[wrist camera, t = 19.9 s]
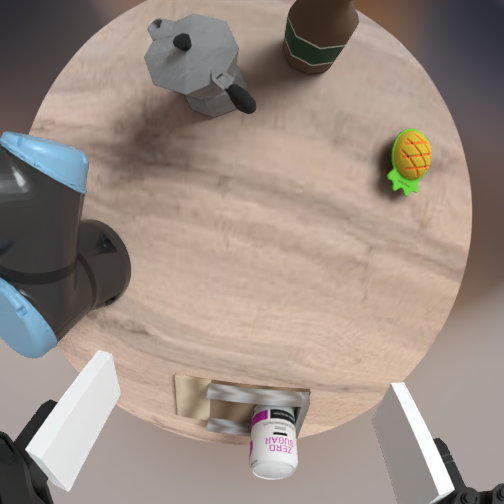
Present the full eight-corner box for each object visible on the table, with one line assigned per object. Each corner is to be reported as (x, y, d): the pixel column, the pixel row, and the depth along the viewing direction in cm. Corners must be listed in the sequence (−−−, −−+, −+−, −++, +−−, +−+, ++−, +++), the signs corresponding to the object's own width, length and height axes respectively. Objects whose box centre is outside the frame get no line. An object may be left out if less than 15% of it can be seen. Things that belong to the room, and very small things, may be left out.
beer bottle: (345, 60, 34) (416, -22, 11) (306, 85, 35) (352, 2, 12) (311, 24, 32) (346, -77, 9) (271, 48, 34) (276, -57, 11)
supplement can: (257, 424, 53) (255, 482, 38) (248, 400, 51) (243, 462, 36) (296, 419, 52) (300, 477, 38) (290, 394, 50) (294, 457, 35)
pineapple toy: (427, 142, 36) (445, 141, 31) (409, 199, 39) (426, 205, 34) (392, 123, 36) (408, 118, 31) (373, 182, 39) (387, 185, 34)
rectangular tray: (178, 411, 54) (174, 424, 50) (175, 373, 51) (170, 387, 47) (297, 425, 54) (298, 439, 50) (309, 388, 50) (312, 403, 47)
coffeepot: (163, 83, 36) (103, 43, 19) (209, 42, 34) (176, -21, 17) (233, 151, 39) (208, 140, 22) (282, 107, 37) (294, 66, 19)
